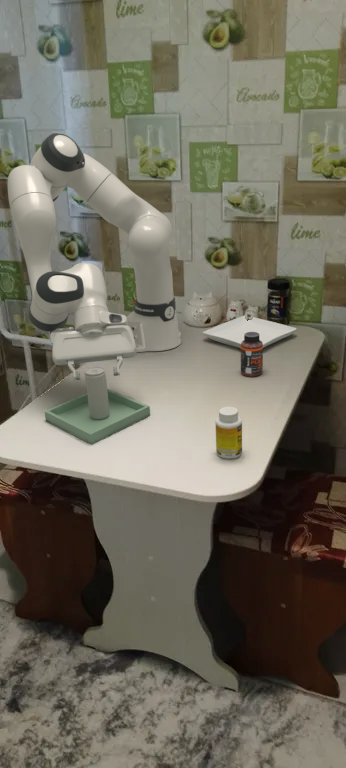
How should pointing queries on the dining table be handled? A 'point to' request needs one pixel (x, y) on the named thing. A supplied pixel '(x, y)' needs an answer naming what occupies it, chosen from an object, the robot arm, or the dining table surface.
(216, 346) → the dining table surface
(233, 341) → the salad plate
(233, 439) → the supplement bottle
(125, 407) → the green tray
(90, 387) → the beverage can
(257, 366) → the supplement bottle
